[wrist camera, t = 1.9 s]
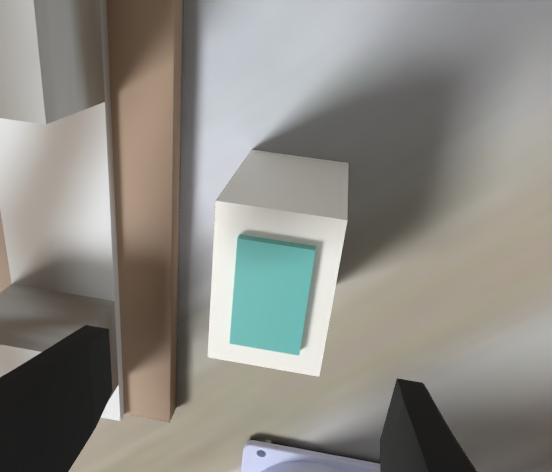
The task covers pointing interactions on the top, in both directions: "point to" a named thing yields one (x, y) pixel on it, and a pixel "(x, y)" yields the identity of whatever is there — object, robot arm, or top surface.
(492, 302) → the top surface
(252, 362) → the block
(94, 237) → the board
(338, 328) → the top surface
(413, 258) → the top surface
